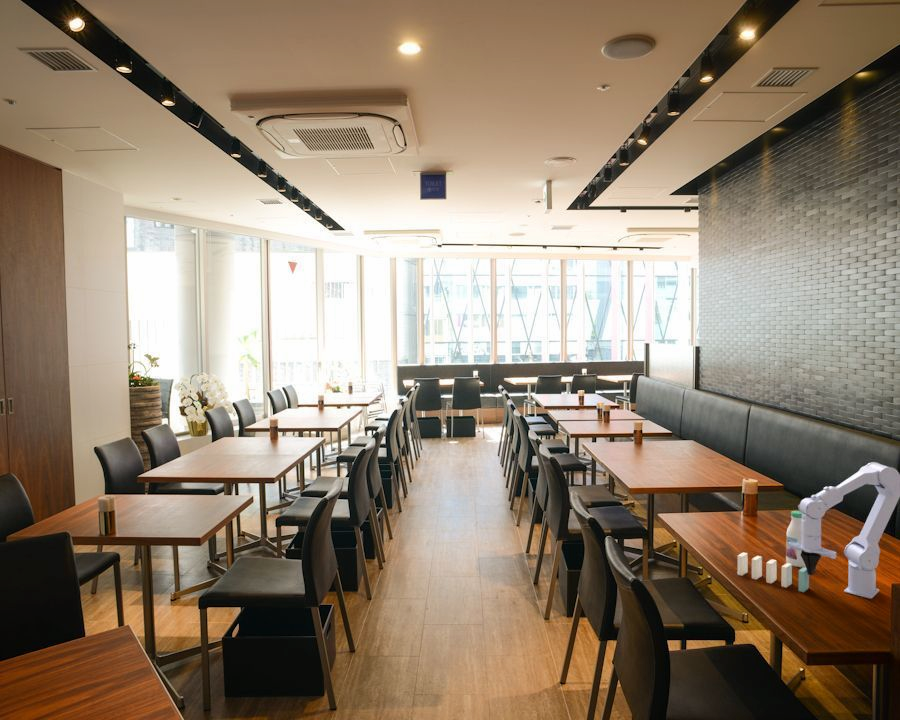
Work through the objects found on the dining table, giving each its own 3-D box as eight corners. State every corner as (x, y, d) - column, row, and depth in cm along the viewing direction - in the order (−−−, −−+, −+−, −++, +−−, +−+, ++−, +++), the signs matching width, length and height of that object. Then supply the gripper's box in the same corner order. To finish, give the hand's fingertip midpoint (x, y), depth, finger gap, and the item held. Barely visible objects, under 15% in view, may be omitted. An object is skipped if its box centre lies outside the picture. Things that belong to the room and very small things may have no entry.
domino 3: (771, 578, 221) (771, 559, 221) (776, 579, 220) (776, 560, 220) (766, 582, 218) (766, 562, 217) (771, 583, 216) (771, 563, 216)
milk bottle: (805, 561, 237) (806, 510, 236) (811, 568, 230) (812, 515, 229) (783, 559, 239) (784, 508, 238) (788, 566, 232) (789, 514, 231)
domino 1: (743, 570, 228) (743, 552, 228) (747, 572, 227) (747, 553, 227) (737, 574, 225) (737, 555, 225) (741, 575, 224) (742, 556, 224)
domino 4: (786, 582, 217) (786, 562, 217) (791, 583, 216) (791, 564, 216) (781, 586, 214) (781, 566, 214) (786, 587, 213) (786, 567, 212)
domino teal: (803, 586, 213) (803, 566, 213) (808, 588, 212) (808, 568, 212) (798, 590, 210) (798, 570, 210) (803, 592, 209) (803, 571, 208)
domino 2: (757, 574, 225) (757, 555, 224) (761, 575, 223) (761, 556, 223) (751, 578, 221) (751, 559, 221) (756, 579, 220) (756, 560, 220)
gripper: (783, 532, 211) (783, 571, 212) (831, 542, 201) (831, 583, 201) (791, 527, 216) (791, 566, 216) (838, 537, 205) (838, 577, 206)
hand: (810, 574), depth 209 cm, fingers closed
